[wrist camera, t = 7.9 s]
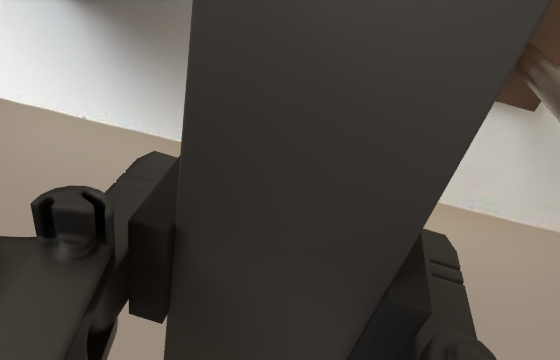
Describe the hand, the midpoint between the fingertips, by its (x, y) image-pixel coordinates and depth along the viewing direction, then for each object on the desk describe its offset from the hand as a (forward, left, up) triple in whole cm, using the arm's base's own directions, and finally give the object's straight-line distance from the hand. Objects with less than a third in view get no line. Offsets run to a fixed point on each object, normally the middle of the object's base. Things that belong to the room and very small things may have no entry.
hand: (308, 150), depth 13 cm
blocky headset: (0, 0, -7) cm, 7 cm away
